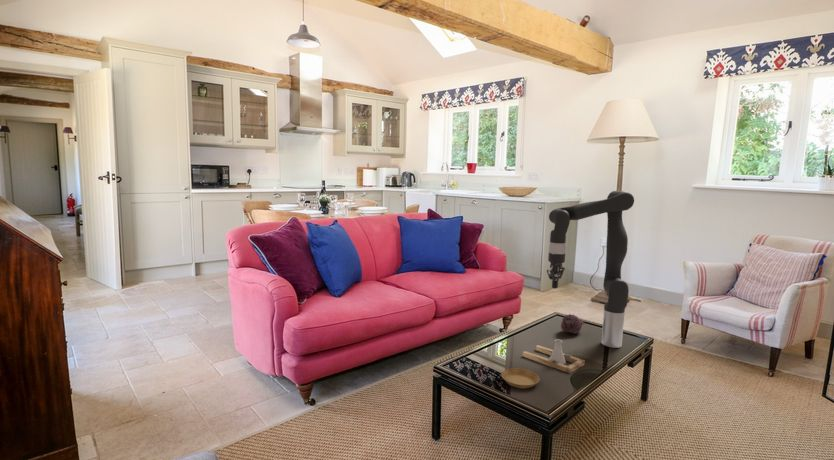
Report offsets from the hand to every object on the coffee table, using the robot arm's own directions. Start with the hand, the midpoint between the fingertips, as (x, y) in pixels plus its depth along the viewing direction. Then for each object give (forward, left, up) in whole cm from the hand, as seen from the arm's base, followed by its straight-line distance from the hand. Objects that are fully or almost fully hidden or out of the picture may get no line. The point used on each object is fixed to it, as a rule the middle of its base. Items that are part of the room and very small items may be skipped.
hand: (554, 288), depth 211 cm
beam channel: (+14, +8, -29) cm, 33 cm away
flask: (+14, +11, -29) cm, 35 cm away
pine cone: (-25, -3, -29) cm, 39 cm away
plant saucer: (+43, +11, -30) cm, 53 cm away
